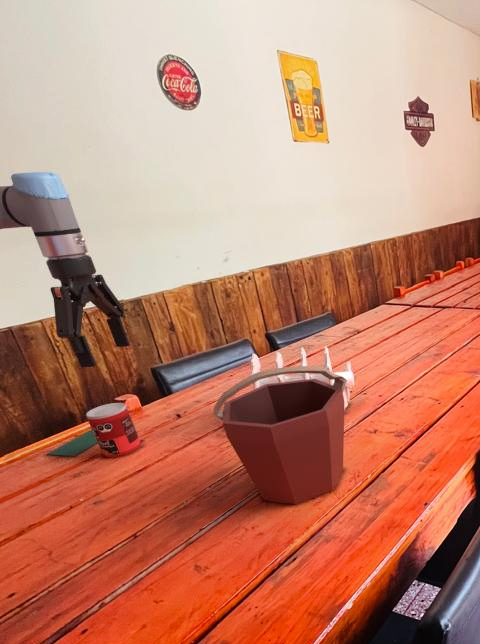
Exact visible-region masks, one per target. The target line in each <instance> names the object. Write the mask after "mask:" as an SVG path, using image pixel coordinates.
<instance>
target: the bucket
mask: <svg viewBox="0 0 480 644" xmlns="http://www.w3.org/2000/svg"><path fill="white" fill-rule="evenodd" d="M332 372H333V371H332ZM332 372H330V371H329V370H327V369H326V368H324V367H323V365H307V366H301V365H298V366H297V365H295V366H283V367H282V368H270V369H266V370H263V371H262V370H261V371H260V372H258V373H255V374H253V375H252V374H251V375H250V376H248V377H246V378H244V379H243V380H241V381H239V382H237V383H236V384H234V385H233V386H231V387H230V388H229V389H227V390H225V391H224V392H222V394H221V395H220V397H219V399H218V400H217V402H216V403H215V404H214V407H213V410H212V411H213V413H212V415H213V416H214V418H216V419H219V420H221V421H222V425H223V429H224V432H225V434H226V435H225V436H226V438H227V440H228V441H229V443H230V445H231V447H232V448H233V450H234V452H235V454H236V455H237V457H238V458H239V459H238V460H240V462H241V464H242V465H243V468H244V469H245V471H246V472H247V474H248V476H249V477H250V479H251V481H252V483H253V484H254V486H255V488H256V490H257V491H258V493H259V495H260V496H261V498H262V500H263V501H269V502H274V503H282V504H289V505H298V504H301V503H303V502H306V501H308V500H311V499H314V498H316V497H318V496H321V495H324V494H327V493H329V492H331V491H333V490H334V488H335V486H336V484H337V483H338V481H339V479H340V477H341V475H342V473H343V471H344V449H345V448H344V447H345V446H344V445H345V444H344V443H345V411H344V405H345V402H344V397H343V391H344V388H345V385H346V382H347V380H346V379H345V378H343V377H342V376H340V375H337V374H335V373H336V372H333V373H332ZM299 373H309V374H322V375H324V376H325V377H327V378H328V379H330V380H333V379H334V384H333V385H330V384H327V383H325V382H322V381H319V380H317V379H308V380H299V381H290V382H281V383H273V384H265V385H263V386H261V387H259V388H257V389H254V388H253V389H251V390H250V391H248V392H245V393H244V394H241V395H239V396H236V397H234V396H235V395H237V394H238V393H239V392H240V391H243V389H246V388H247V387H249V386H251V385H252V384H253V383H254V382H256V381H258V380H260V379H264V378H268V377H276V375H282V374H285V375H288V374H289V375H291V374H299ZM232 397H234V398H232ZM230 398H232V399H230ZM229 399H230V400H229ZM227 400H228V401H227ZM223 406H224V407H223ZM221 408H223V410H221Z"/></svg>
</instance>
